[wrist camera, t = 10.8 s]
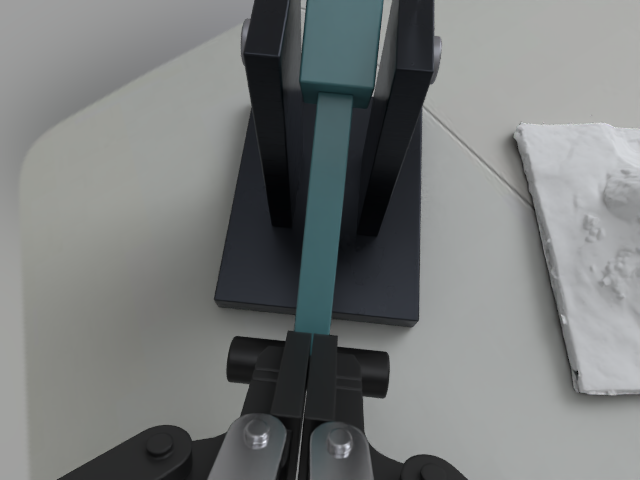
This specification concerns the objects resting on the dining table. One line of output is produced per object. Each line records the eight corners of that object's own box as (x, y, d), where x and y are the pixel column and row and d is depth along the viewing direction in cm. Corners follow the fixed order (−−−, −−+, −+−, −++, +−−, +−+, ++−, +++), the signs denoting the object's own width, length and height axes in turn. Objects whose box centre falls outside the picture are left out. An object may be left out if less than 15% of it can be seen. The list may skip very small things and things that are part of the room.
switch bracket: (413, 327, 21) (522, 211, 10) (218, 307, 21) (127, 171, 11) (417, 115, 26) (496, -116, 15) (257, 99, 26) (223, -141, 15)
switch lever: (379, 384, 16) (388, 412, 14) (236, 368, 16) (220, 394, 14) (417, 29, 16) (433, -5, 13) (269, 16, 16) (259, -21, 13)
